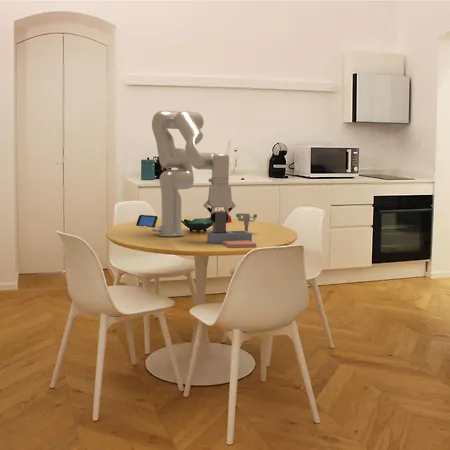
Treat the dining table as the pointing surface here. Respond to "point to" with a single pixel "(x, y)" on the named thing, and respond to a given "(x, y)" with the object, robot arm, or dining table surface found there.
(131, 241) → the dining table surface
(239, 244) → the terracotta mat
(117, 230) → the dining table surface
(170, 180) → the robot arm
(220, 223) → the block
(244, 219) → the mechanical component
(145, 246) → the dining table surface
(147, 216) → the tablet display
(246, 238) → the blue-grey tray
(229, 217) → the butter dish
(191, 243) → the dining table surface
